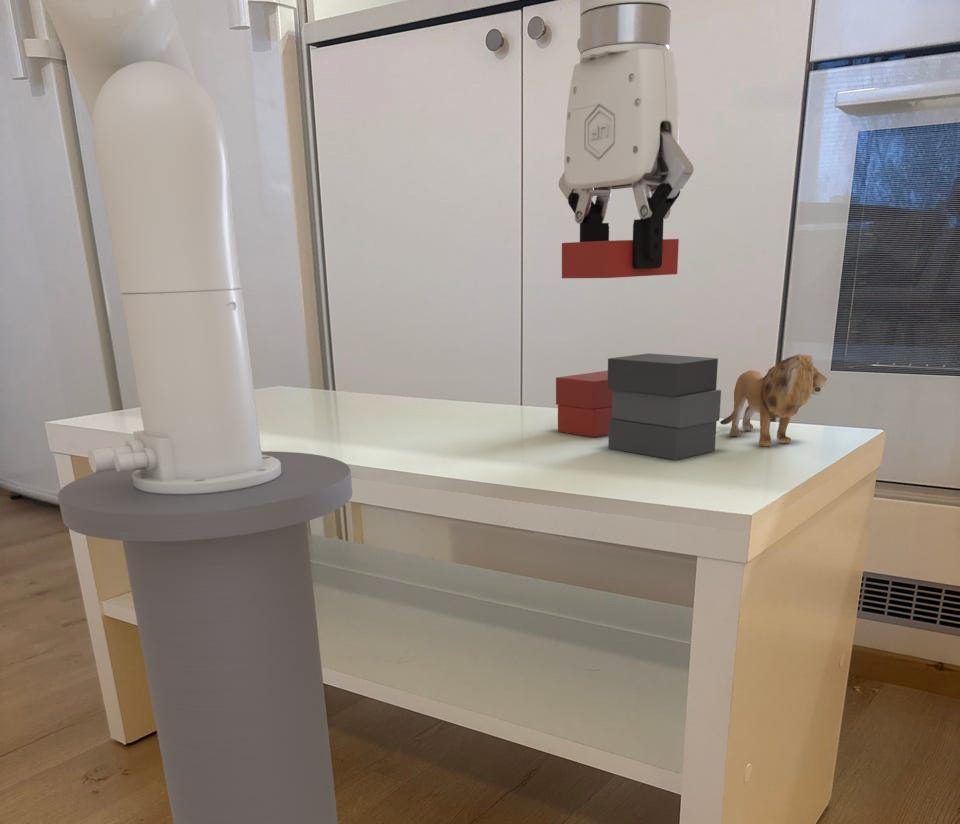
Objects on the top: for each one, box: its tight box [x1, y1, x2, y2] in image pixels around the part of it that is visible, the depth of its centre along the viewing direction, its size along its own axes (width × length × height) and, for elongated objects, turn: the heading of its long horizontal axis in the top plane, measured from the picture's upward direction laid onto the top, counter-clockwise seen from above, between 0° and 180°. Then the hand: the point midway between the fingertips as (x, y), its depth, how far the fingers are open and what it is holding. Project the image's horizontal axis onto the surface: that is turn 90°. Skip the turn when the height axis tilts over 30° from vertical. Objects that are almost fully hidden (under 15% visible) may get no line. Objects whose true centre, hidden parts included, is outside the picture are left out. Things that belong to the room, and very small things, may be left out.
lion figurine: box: [719, 353, 828, 447], centre depth 98 cm, size 15×5×9 cm, turn 21°
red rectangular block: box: [561, 238, 680, 279], centre depth 86 cm, size 6×9×3 cm, turn 128°
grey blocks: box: [607, 353, 722, 461], centre depth 95 cm, size 6×9×9 cm
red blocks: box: [555, 370, 612, 438], centre depth 108 cm, size 6×9×6 cm
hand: (619, 266), depth 87 cm, fingers closed on red rectangular block, 6 cm apart
